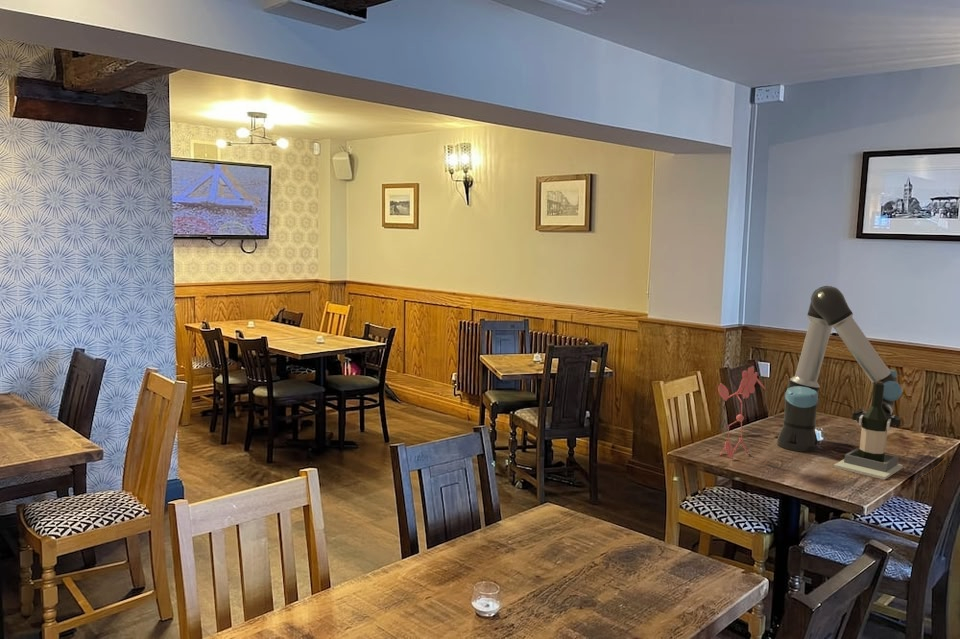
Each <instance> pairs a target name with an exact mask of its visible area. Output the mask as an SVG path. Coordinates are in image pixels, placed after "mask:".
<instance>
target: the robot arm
mask: <svg viewBox="0 0 960 639" xmlns="http://www.w3.org/2000/svg"><path fill="white" fill-rule="evenodd" d="M853 316H854V313H853V311H852V310H851V308H850V307H849V305H848V303H847V301H846V298H845V295H844V294H843V293H842V292H841V290H840V289H839V288H837V287H835V286H832V285H822V286H820V287H818V288H817V289H814V291H813V292H812V294H811V296H810V304H809V308H808V311H807V318H808V320H809V322H808V327H807V331H806V335H805V337H804V341H803V346H802V350H801V352H800V356H799V360H798V363H797V368H796V369H795V370H796V371H795V375H793V376H792V377H791V378H789V382H788V385H787V389H786V391H785V393H784V413H783V424H782V427H781V430H780V432H779V434H778V437H777V439H776V444H777V446H779V447H780V448H783V449H786V450H790V451H795V452H802V453H804V452H805V453H809V452H810V453H811V452H816V451H818V450H819V441H818V437H817V432H816V421H817V420H816V419H817V411H818V402H819V390H820V388H821V386H820V384H819V381H818V379H819V376H820V373H821V369H822V366H823V362H824V358H825V356H826V355H825V354H826V351H827V348H828V343H829V340H830V336H831V333H832V329H834V330H835V332H836V333H837V335H838V336H839V337H840V339H841V340H842V341H843V343H844V345H845V346H846V347H847V349H848V351H849V352H850V354H852V356H853V357H854V359H855V360H856V362H857V363H858V365H859V366H860V367H861V369H862V370H863V372H864V373H865V375H866V376H867V377H868V379H869V380H870V382H871V384H872V385H873V386H874V383H875V382H876V381H880V382H883V384H884V393H883V402H882V408H883V410H884V412H885V413H886V415H887V417H888V422H887V428H886V430H887V431H889V430H890V428H891V427H892V428H893V427H897V428H900V427H901V419H900V414H893V413H894V411H895V401H897V400H899V399H900V398H901V396H902V395H903V388H902V386H901V384H900V383H899V382H898V381H897V380H898V371H897V370H894V369H892V368H891V369H890V368H888V366H887V365H886V364H885V362H884V361H883V359H882V358H881V356H880V355H879V354H878V352H877V351H876V349H875V348H874V346H873V345H872V343H871V342H870V341H869V339H868V338H867V336H866V335H865V333H864V332H863V331H862V329H861V327H859V324H858V323H857V322H856V320H855V319H854V318H853ZM867 411H868V410H866V411H865V410H864V409H861V408H860V409H858V410H857V411H854V412H852V417H851V418H852V421H856V422H857V423H858V426H862V420H863V416H864V414H865V413H866V412H867ZM892 414H893V415H892Z"/></svg>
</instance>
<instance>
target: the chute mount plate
mask: <svg viewBox="0 0 960 639" xmlns="http://www.w3.org/2000/svg"><path fill="white" fill-rule="evenodd" d="M859 450H860V447H856V448H854V449H852V450H851V451H849V452H847V453H845V454H844V459H842V460H840V461H838V462H836V463H834V464H833V468H835V469H838V470H839V469H840V470H844V471H847V472H852V473H856V474H860V475H864V476H867V477H873V478H876V479H880V480H884V481H885V480H886V479H888V478H889V477H891V476H892V475H894V474H895V473H897V472H899V471H900V470H902V469H903V467H904V464H900V463H899V456H896V455H892V454H888V453H885V456H884V463H882V462H878V461H874V460H869V459H865V458H861V457H859Z"/></svg>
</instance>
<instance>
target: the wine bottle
mask: <svg viewBox="0 0 960 639" xmlns="http://www.w3.org/2000/svg"><path fill="white" fill-rule="evenodd" d="M883 393H884V384H883V382H880V381H876V382H875V383H874V385H873V388H872V397H871V398H872V399H871V406H870V407H869V409H867V410H866V411H867V412H866V411H865V412H866V413H865V414H864V416H863V420H862V424H861V432H860V439H859V440H860V442H859V448H860V450H859V457H861V458H865V459H869V460H874V461H878V462H882V463H884V456H885V454H886V446H887V445H886V444H887V437H888V436H887V435H888V430H886V428H887V422H888V417H887V415H886V413H885V412H884V410H883V408H882V402H883Z"/></svg>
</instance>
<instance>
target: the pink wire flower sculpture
mask: <svg viewBox="0 0 960 639" xmlns="http://www.w3.org/2000/svg"><path fill="white" fill-rule="evenodd" d="M758 375H759V374H758V371H756V372H755V367H754V365H751V366H750V367H748V368H747V370H746V369H745V370H743V371H741V377H742V379H741V381H740V384H739V386H738V389H737V391H735V392H734V393H732V394H730V391H729V390H728V388H727V386H726V385H724V384H723V383H722V382H721V383H719V385H718V389H717V390H718V394H719V397H721V398H722V399H723V401H725V402H727V401H728V399H730V398H731V397H734V396H736V397H737V399H738V401H739V402H740V414H737V415H736V417H735V418H736V420H735V421H734V422H732V423H730V424H728V425H727V440H726V441H725V442H724V447H723V449H722V451H721V452H720V454H719V456H722V454H724V452H725V451H726V454H727V456H728V457H729V458H730V459H731V460H733V458H734V455H735V453H734V452H735V451H736V449H737V448H738V446H739V445H740V444H741V446H742V447H743V449H744V450H745V452H746V453H747V454H749V451H748V449H747V447H746V445H745V444H744V442H743V421H744V420H745V417H744V415H743V403H744V402H743V401H742V399H743V400H744V399H748V398H749V397H750V394H754V393H755V391H756V388H755V385H756V383H758V384H759V385H760V387H762V388H763V389H764V390H767V389H766V387H765V385H764V384H763V383H762V381H761V380H760V379H759V378H758ZM739 395H742V399H741V398H740V396H739ZM737 422H740V436H741V437H739V438H738V439H739V441H738V442H737V444H736V445H735V446H734V447H733V446H732V444H731V442H730V426H733V425H734V424H735V423H737ZM709 457H710V458H712V456H711V455H709Z"/></svg>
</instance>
